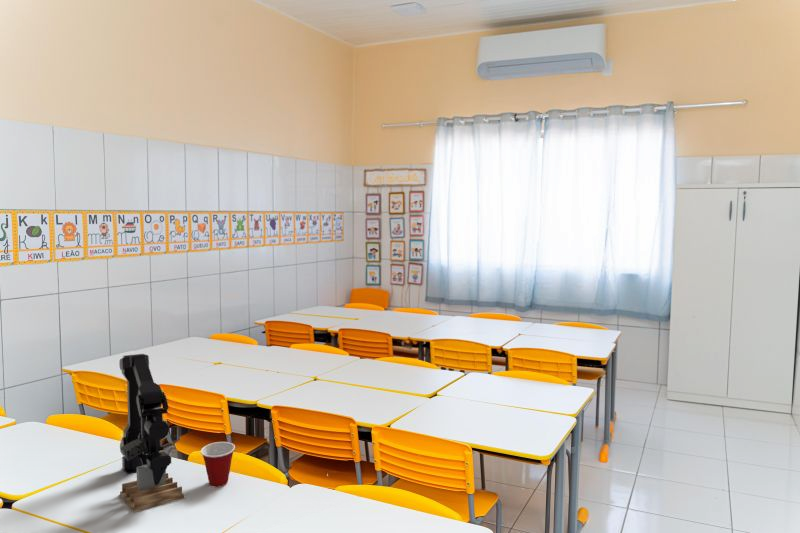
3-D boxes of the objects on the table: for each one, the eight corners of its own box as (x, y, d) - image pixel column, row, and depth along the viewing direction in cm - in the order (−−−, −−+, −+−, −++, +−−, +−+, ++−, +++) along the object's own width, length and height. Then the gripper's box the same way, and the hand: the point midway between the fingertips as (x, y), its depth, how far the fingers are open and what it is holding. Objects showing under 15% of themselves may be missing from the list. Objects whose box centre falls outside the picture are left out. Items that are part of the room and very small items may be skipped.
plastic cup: (193, 487, 200) (193, 450, 199) (215, 474, 210) (215, 439, 209) (221, 493, 196) (220, 456, 195) (242, 480, 206) (242, 444, 205)
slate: (163, 488, 196) (163, 460, 196) (166, 491, 194) (165, 463, 194) (137, 495, 191) (136, 466, 191) (139, 498, 189) (138, 469, 189)
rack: (168, 482, 203) (168, 472, 203) (184, 498, 192) (184, 487, 192) (120, 494, 194) (119, 483, 193) (133, 511, 183) (133, 500, 183)
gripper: (114, 427, 194) (115, 475, 195) (132, 444, 179) (133, 497, 180) (151, 420, 201) (152, 467, 202) (171, 436, 186) (172, 487, 187)
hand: (151, 479), depth 193 cm, fingers open, 9 cm apart
